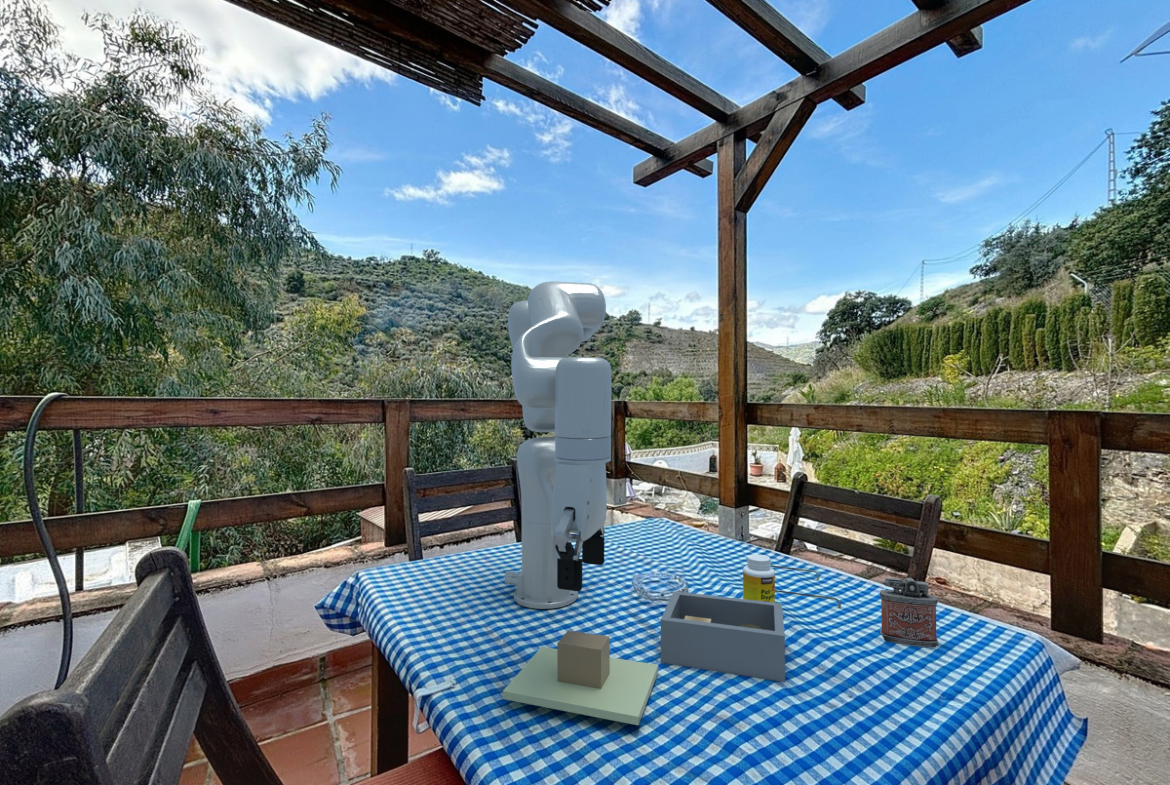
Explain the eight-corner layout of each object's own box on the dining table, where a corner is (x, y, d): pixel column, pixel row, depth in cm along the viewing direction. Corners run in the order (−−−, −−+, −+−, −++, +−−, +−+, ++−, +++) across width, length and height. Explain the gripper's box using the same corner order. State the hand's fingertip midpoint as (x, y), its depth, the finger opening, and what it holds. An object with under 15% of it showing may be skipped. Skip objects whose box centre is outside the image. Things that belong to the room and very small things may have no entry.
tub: (660, 667, 77) (660, 619, 77) (673, 633, 89) (673, 591, 89) (785, 687, 72) (784, 636, 72) (782, 648, 83) (781, 603, 83)
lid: (502, 710, 67) (502, 651, 68) (541, 663, 79) (541, 613, 79) (638, 738, 62) (638, 673, 62) (658, 682, 74) (657, 628, 74)
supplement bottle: (761, 622, 93) (761, 564, 93) (736, 611, 98) (736, 556, 98) (781, 615, 96) (781, 558, 96) (756, 605, 101) (756, 551, 101)
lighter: (934, 640, 86) (933, 578, 86) (940, 649, 83) (940, 585, 83) (878, 633, 89) (877, 573, 89) (882, 641, 85) (882, 579, 86)
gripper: (577, 441, 80) (577, 552, 81) (530, 457, 64) (530, 597, 65) (625, 443, 78) (624, 558, 79) (589, 460, 62) (588, 605, 62)
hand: (582, 575), depth 72 cm, fingers open, 9 cm apart
